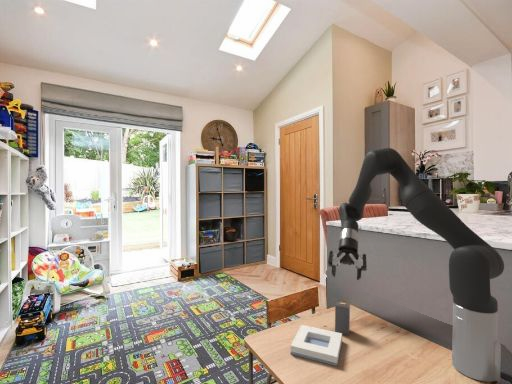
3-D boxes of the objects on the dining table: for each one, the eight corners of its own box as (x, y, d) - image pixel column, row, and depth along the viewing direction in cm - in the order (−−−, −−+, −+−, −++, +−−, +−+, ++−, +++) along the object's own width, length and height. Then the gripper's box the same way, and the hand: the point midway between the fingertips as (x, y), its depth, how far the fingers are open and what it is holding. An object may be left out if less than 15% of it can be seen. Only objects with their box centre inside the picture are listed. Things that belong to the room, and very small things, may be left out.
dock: (342, 341, 84) (342, 333, 84) (337, 366, 72) (337, 356, 72) (301, 332, 89) (301, 324, 89) (290, 354, 77) (290, 345, 77)
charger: (349, 329, 91) (350, 302, 91) (348, 335, 88) (349, 306, 88) (336, 327, 93) (336, 300, 93) (335, 332, 89) (335, 304, 89)
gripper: (330, 235, 112) (325, 270, 101) (367, 237, 106) (366, 275, 95) (331, 245, 116) (327, 279, 106) (367, 248, 111) (366, 285, 100)
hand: (345, 277), depth 101 cm, fingers open, 8 cm apart
